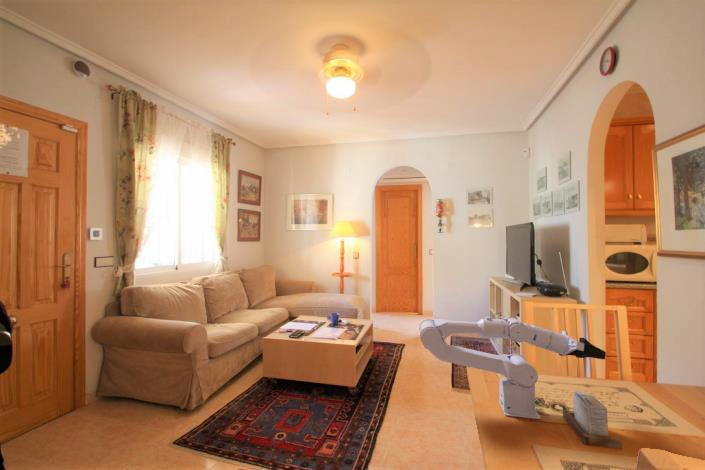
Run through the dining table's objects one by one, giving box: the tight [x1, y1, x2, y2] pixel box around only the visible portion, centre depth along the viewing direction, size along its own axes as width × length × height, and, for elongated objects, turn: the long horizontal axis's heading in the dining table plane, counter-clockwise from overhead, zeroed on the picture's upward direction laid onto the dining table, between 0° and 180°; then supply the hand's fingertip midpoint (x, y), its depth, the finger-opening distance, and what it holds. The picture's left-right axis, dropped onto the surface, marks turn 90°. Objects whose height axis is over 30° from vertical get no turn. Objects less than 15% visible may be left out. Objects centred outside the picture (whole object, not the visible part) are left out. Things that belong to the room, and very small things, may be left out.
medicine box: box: [573, 392, 609, 437], centre depth 84 cm, size 8×4×9 cm, turn 168°
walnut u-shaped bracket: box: [562, 409, 623, 450], centre depth 84 cm, size 8×12×2 cm, turn 167°
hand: (595, 354), depth 91 cm, fingers open, 7 cm apart
